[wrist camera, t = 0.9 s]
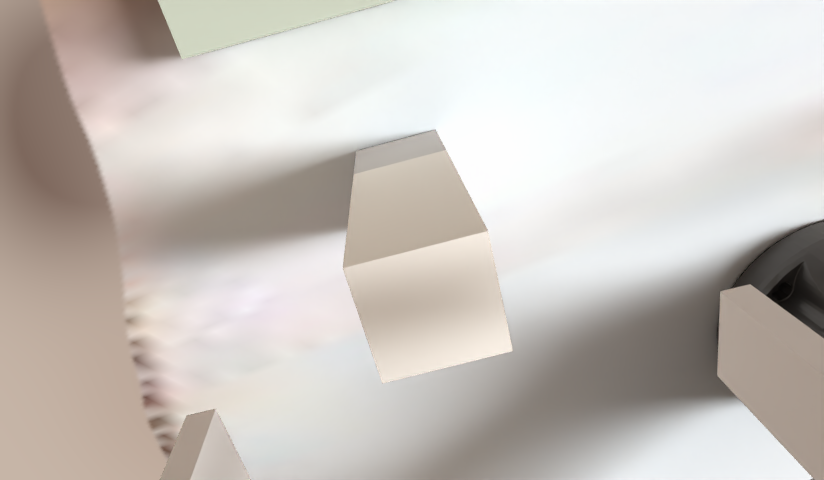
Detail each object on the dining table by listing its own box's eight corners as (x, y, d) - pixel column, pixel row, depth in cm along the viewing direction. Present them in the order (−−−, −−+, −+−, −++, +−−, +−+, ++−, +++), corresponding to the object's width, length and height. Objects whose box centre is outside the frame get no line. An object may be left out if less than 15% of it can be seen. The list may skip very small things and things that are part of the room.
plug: (453, 204, 34) (512, 351, 20) (378, 223, 34) (382, 383, 20) (435, 129, 32) (488, 230, 18) (356, 150, 32) (342, 268, 18)
